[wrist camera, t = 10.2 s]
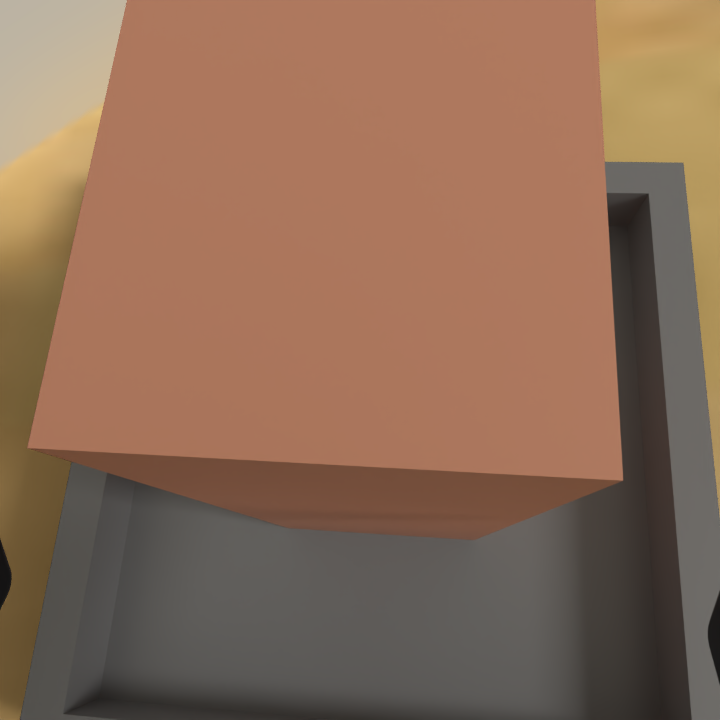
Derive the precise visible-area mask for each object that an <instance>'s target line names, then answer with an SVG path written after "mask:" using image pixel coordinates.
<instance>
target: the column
mask: <svg viewBox="0 0 720 720" xmlns="http://www.w3.org/2000/svg"><path fill="white" fill-rule="evenodd" d="M27 448H29V449H32V450H35V451H38V452H42V453H45V454H48V455H51V456H55V457H58V458H61V459H64V460H68V461H71V462H74V463H78V464H81V465H84V466H87V467H91V468H94V469H97V470H100V471H104V472H107V473H110V474H113V475H117V476H120V477H123V478H126V479H130V480H133V481H136V482H139V483H143V484H146V485H149V486H152V487H156V488H159V489H162V490H165V491H169V492H172V493H175V494H178V495H182V496H185V497H188V498H191V499H195V500H198V501H201V502H204V503H208V504H211V505H214V506H218V507H221V508H224V509H227V510H231V511H234V512H237V513H240V514H244V515H247V516H250V517H253V518H257V519H260V520H263V521H266V522H270V523H273V524H276V525H279V526H283V527H286V528H292V529H308V530H324V531H339V532H355V533H370V534H386V535H401V536H417V537H432V538H448V539H464V540H476V539H478V538H481V537H483V536H486V535H488V534H491V533H493V532H496V531H498V530H501V529H503V528H506V527H508V526H511V525H513V524H516V523H518V522H521V521H523V520H526V519H528V518H531V517H533V516H536V515H538V514H541V513H543V512H546V511H548V510H551V509H554V508H556V507H559V506H561V505H564V504H566V503H569V502H571V501H574V500H576V499H579V498H581V497H584V496H586V495H589V494H591V493H594V492H596V491H599V490H601V489H604V488H606V487H609V486H611V485H614V484H616V483H619V482H621V481H623V467H622V450H621V433H620V416H619V399H618V381H617V364H616V347H615V330H614V313H613V296H612V279H611V261H610V244H609V227H608V210H607V193H606V176H605V159H604V141H603V124H602V107H601V90H600V73H599V56H598V39H597V21H596V4H595V0H127V3H126V8H125V12H124V17H123V22H122V26H121V30H120V35H119V39H118V44H117V48H116V53H115V57H114V62H113V66H112V71H111V75H110V79H109V84H108V89H107V93H106V97H105V102H104V106H103V111H102V115H101V120H100V124H99V129H98V133H97V138H96V142H95V147H94V151H93V156H92V160H91V165H90V169H89V173H88V178H87V182H86V187H85V191H84V196H83V200H82V205H81V209H80V214H79V218H78V223H77V227H76V232H75V236H74V241H73V245H72V250H71V254H70V259H69V263H68V267H67V272H66V276H65V281H64V285H63V290H62V294H61V299H60V303H59V308H58V312H57V317H56V321H55V326H54V330H53V335H52V339H51V344H50V348H49V353H48V357H47V361H46V366H45V370H44V375H43V379H42V384H41V388H40V393H39V397H38V402H37V406H36V411H35V415H34V420H33V424H32V429H31V433H30V438H29V442H28V447H27Z"/></svg>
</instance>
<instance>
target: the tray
mask: <svg viewBox="0 0 720 720" xmlns="http://www.w3.org/2000/svg"><path fill="white" fill-rule="evenodd" d="M605 176H606V193H607V210H608V227H609V244H610V261H611V279H612V296H613V313H614V330H615V347H616V364H617V381H618V399H619V416H620V433H621V450H622V467H623V481H621V482H619V483H616V484H614V485H611V486H609V487H606V488H604V489H601V490H599V491H596V492H594V493H591V494H589V495H586V496H584V497H581V498H579V499H576V500H574V501H571V502H569V503H566V504H564V505H561V506H559V507H556V508H554V509H551V510H548V511H546V512H543V513H541V514H538V515H536V516H533V517H531V518H528V519H526V520H523V521H521V522H518V523H516V524H513V525H511V526H508V527H506V528H503V529H501V530H498V531H496V532H493V533H491V534H488V535H486V536H483V537H481V538H478V539H476V540H464V539H448V538H432V537H417V536H401V535H386V534H370V533H355V532H339V531H324V530H308V529H292V528H286V527H283V526H279V525H276V524H273V523H270V522H266V521H263V520H260V519H257V518H253V517H250V516H247V515H244V514H240V513H237V512H234V511H231V510H227V509H224V508H221V507H218V506H214V505H211V504H208V503H204V502H201V501H198V500H195V499H191V498H188V497H185V496H182V495H178V494H175V493H172V492H169V491H165V490H162V489H159V488H156V487H152V486H149V485H146V484H143V483H139V482H136V481H133V480H130V479H126V478H123V477H120V476H117V475H113V474H110V473H107V472H104V471H100V470H97V469H94V468H91V467H87V466H84V465H81V464H78V463H74V462H72V463H71V468H70V473H69V478H68V483H67V488H66V493H65V497H64V502H63V507H62V512H61V517H60V522H59V527H58V532H57V537H56V542H55V547H54V552H53V557H52V562H51V567H50V572H49V577H48V582H47V587H46V592H45V597H44V602H43V607H42V612H41V617H40V622H39V627H38V632H37V637H36V642H35V647H34V652H33V657H32V662H31V667H30V672H29V677H28V682H27V687H26V692H25V697H24V702H23V707H22V712H21V717H20V720H720V684H719V681H718V677H717V673H716V670H715V666H714V662H713V659H712V655H711V651H710V648H709V643H708V625H709V621H710V618H711V615H712V612H713V609H714V606H715V603H716V600H717V597H718V594H719V591H720V518H719V508H718V498H717V489H716V479H715V469H714V459H713V449H712V439H711V430H710V420H709V410H708V400H707V390H706V381H705V371H704V361H703V351H702V341H701V332H700V322H699V312H698V302H697V292H696V283H695V273H694V263H693V253H692V243H691V233H690V224H689V214H688V204H687V194H686V184H685V175H684V165H683V163H657V162H605Z"/></svg>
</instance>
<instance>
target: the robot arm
mask: <svg viewBox="0 0 720 720" xmlns="http://www.w3.org/2000/svg"><path fill="white" fill-rule="evenodd" d="M11 579H12V578H11V570H10V567H9V564H8V561H7V558H6V555H5V552H4V549H3V546H2V543H1V540H0V609H1V607H2V605H3V603H4V601H5V599H6V597H7V595H8V592H9V589H10V586H11ZM708 643H709V648H710V651H711V655H712V659H713V662H714V666H715V670H716V673H717V677H718V681H719V684H720V591H719V594H718V597H717V600H716V603H715V606H714V609H713V612H712V615H711V618H710V621H709V625H708Z"/></svg>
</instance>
